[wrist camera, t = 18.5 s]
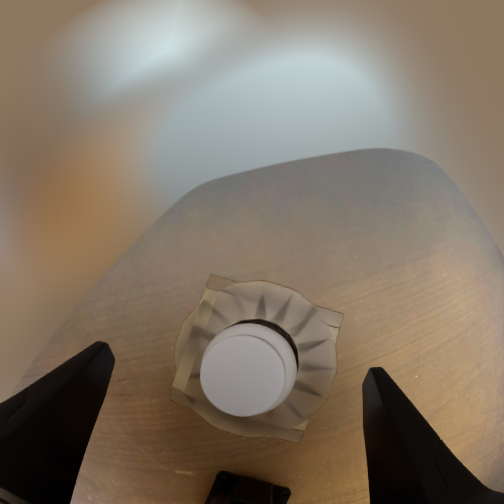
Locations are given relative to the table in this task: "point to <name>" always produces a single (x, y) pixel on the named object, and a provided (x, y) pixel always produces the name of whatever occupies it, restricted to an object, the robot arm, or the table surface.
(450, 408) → the table surface
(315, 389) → the socket plate
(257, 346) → the pill bottle
